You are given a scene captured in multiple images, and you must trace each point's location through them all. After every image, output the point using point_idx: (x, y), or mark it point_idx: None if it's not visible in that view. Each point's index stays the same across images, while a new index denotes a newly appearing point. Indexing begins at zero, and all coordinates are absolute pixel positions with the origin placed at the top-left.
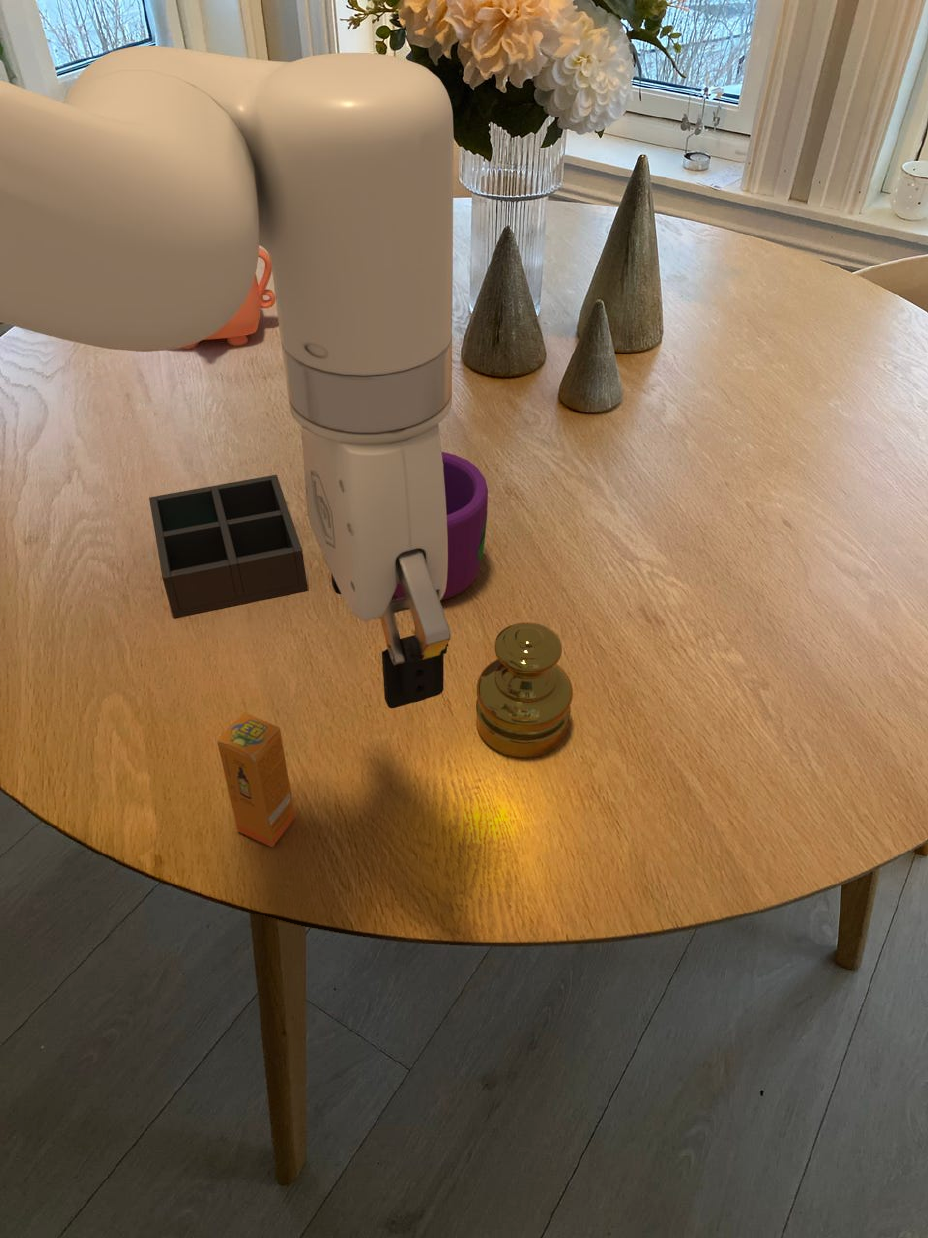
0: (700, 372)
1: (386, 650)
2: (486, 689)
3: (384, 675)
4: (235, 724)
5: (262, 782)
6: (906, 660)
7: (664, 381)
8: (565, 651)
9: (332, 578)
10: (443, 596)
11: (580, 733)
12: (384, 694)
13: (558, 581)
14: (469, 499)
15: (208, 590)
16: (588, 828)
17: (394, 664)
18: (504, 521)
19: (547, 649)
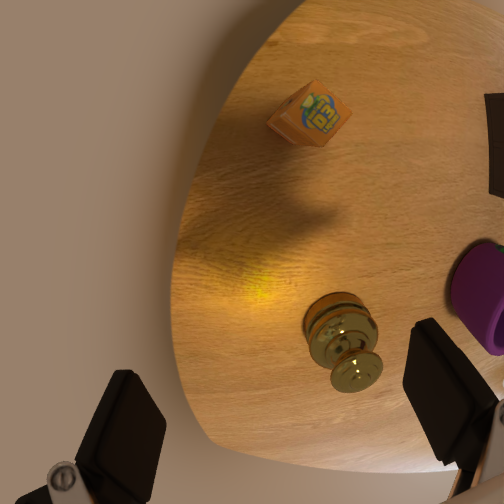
0: None
1: (93, 467)
2: (350, 321)
3: (97, 420)
4: (335, 100)
5: (278, 121)
6: (306, 463)
7: None
8: (381, 352)
9: (439, 334)
10: (452, 289)
11: None
12: (122, 379)
13: None
14: (499, 333)
15: (500, 122)
16: (241, 339)
17: (57, 465)
18: None
19: (344, 388)
